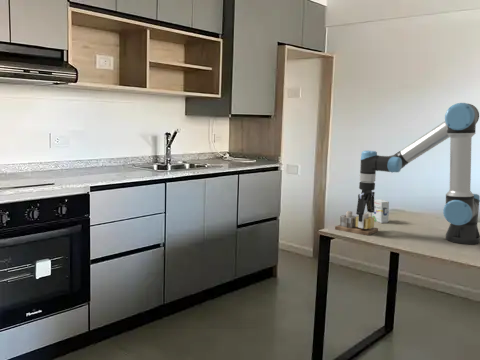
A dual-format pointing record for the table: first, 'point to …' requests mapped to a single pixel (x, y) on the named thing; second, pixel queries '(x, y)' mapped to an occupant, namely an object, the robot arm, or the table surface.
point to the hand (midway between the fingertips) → (364, 226)
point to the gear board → (353, 224)
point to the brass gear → (366, 222)
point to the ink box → (381, 211)
